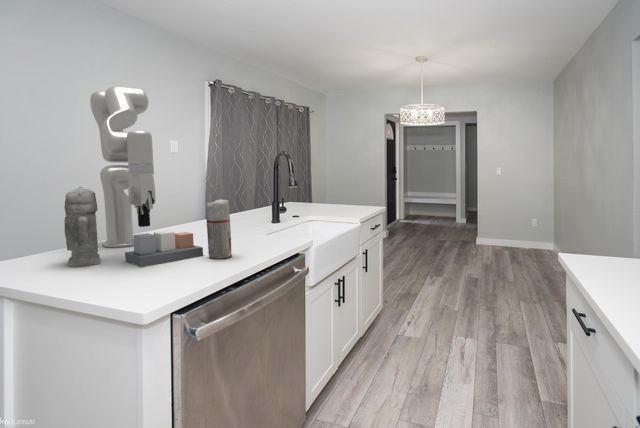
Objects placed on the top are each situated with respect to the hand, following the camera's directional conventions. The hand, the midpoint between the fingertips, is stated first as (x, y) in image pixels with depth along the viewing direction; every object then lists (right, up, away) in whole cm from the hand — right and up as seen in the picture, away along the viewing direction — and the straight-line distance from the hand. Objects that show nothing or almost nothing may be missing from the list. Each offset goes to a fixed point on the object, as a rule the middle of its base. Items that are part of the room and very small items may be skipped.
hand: (144, 226), depth 138 cm
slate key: (0, -9, +1) cm, 9 cm away
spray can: (+23, -11, +9) cm, 27 cm away
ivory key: (+4, -8, +7) cm, 11 cm away
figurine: (-20, -12, +1) cm, 24 cm away
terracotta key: (+9, -9, +12) cm, 17 cm away
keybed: (+4, -11, +7) cm, 14 cm away
